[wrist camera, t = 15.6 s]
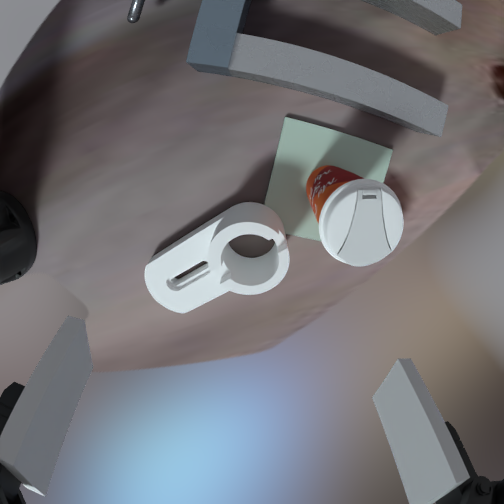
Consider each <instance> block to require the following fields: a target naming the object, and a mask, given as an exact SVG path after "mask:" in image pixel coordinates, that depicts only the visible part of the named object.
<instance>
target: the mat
mask: <svg viewBox="0 0 504 504" xmlns="http://www.w3.org/2000/svg"><path fill="white" fill-rule="evenodd" d="M392 151H393V150H392V149H389V148H386V147H384V146H381V145H378V144H375V143H372V142H369V141H366V140H363V139H360V138H357V137H354V136H351V135H348V134H345V133H342V132H338V131H335V130H332V129H328V128H325V127H322V126H318V125H314V124H311V123H307V122H303V121H299V120H296V119H292V118H288V117H285V119H284V123H283V127H282V132H281V136H280V140H279V144H278V148H277V152H276V157H275V161H274V165H273V169H272V173H271V177H270V182H269V186H268V190H267V194H266V198H265V202H264V205H265V206H267V207H269V208H271V209H272V210H273V211H274V212H275V213H276V214H277V215H278V216H279V217H280V219H281V221H282V223H283V226H284V230H285V234H289V235H294V236H299V237H304V238H308V239H313V240H318V241H321V239H320V234H319V224H318V222H317V219H316V217H315V214H314V212H313V210H312V207H311V205H310V202H309V199H308V197H307V193H306V183H307V180H308V178H309V176H310V174H311V173H312V172H313V171H314V170H316V169H317V168H319V167H321V166H326V165H331V166H336V167H339V168H342V169H344V170H347V171H349V172H352V173H354V174H356V175H358V176H360V177H363V178H365V179H372V180H376V181H379V182H381V183H383V182H384V179H385V175H386V172H387V169H388V165H389V162H390V158H391V155H392Z"/></svg>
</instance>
